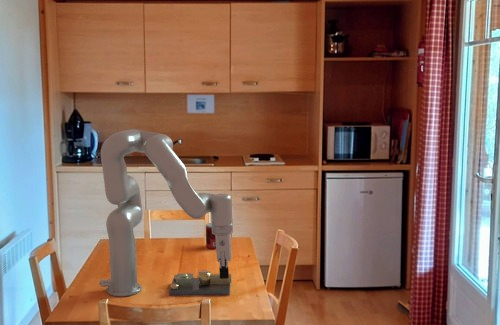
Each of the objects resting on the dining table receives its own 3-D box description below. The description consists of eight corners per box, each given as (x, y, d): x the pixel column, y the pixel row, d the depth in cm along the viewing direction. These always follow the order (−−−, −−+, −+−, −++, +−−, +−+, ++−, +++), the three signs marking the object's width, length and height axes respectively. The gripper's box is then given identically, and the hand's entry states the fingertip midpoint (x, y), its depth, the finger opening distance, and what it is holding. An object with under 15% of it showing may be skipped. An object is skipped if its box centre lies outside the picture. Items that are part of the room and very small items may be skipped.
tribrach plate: (169, 295, 207) (168, 280, 206) (173, 283, 220) (173, 269, 219) (229, 294, 207) (229, 280, 206) (230, 282, 220) (230, 268, 219)
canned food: (226, 246, 268) (225, 223, 267) (216, 250, 262) (215, 227, 260) (212, 243, 272) (212, 221, 271) (202, 248, 266) (202, 225, 264)
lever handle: (198, 285, 211) (197, 273, 210) (199, 280, 215) (198, 269, 215) (231, 284, 211) (231, 273, 210) (231, 280, 216) (231, 269, 215)
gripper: (232, 233, 196) (234, 284, 198) (233, 223, 210) (234, 270, 213) (210, 234, 196) (212, 285, 198) (212, 223, 210) (214, 271, 213)
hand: (224, 277), depth 206 cm, fingers closed
